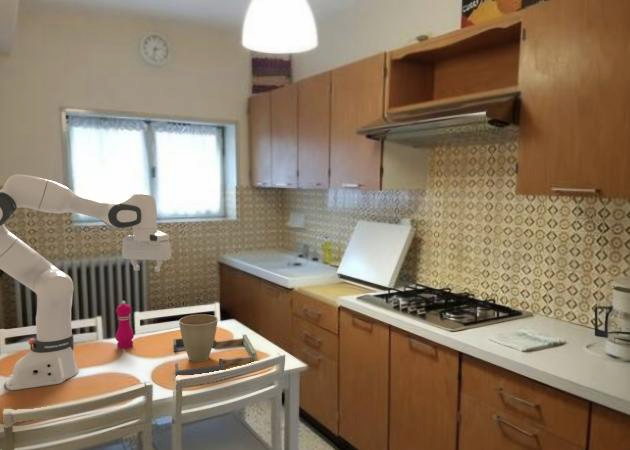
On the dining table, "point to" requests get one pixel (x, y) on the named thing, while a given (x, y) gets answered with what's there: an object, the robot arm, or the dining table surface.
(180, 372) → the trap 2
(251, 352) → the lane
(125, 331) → the pepper mill
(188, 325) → the plant pot
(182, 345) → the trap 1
